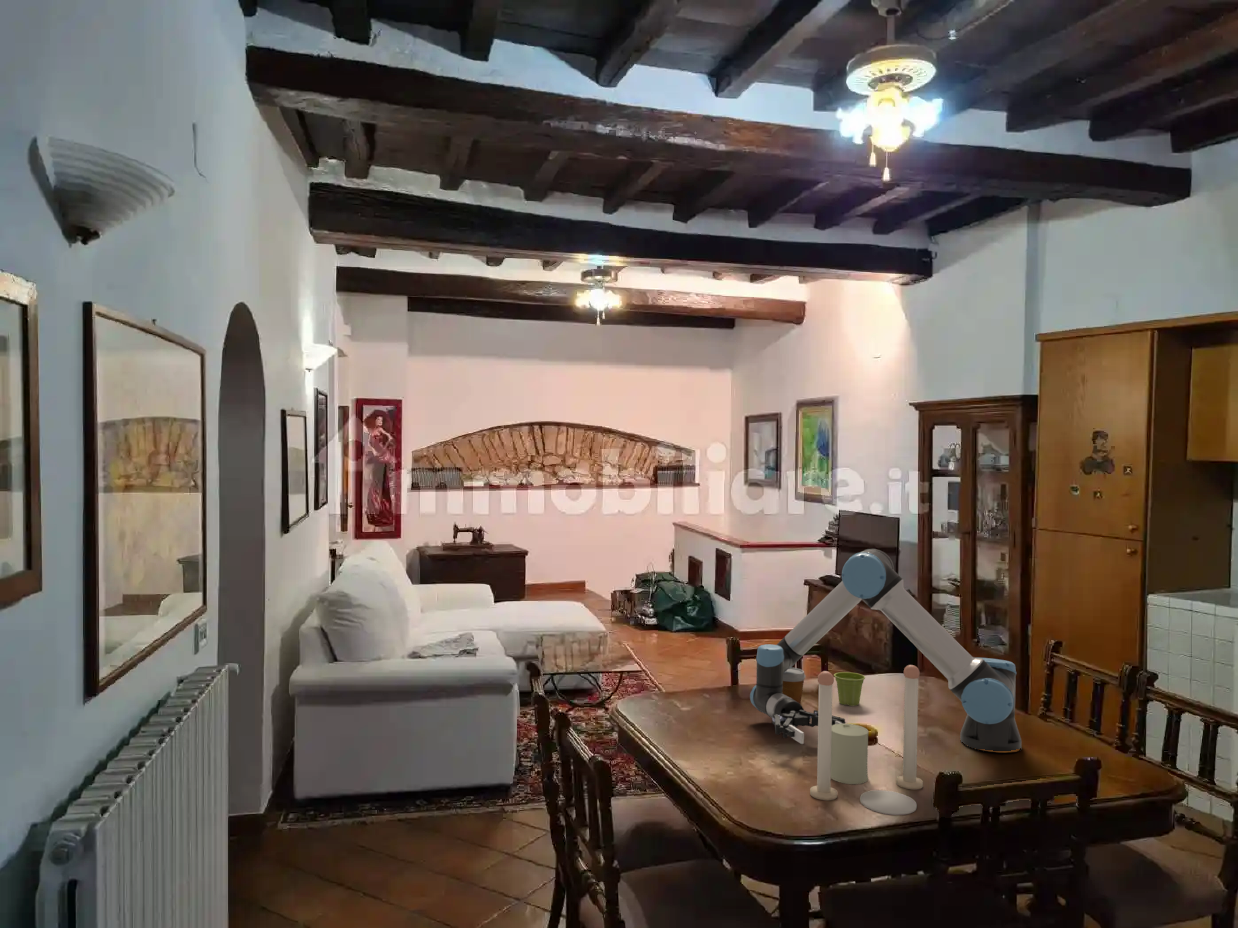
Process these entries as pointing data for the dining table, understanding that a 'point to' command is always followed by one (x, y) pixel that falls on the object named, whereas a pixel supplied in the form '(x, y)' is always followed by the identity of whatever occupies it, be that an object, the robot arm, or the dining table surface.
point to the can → (849, 753)
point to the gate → (825, 734)
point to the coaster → (888, 802)
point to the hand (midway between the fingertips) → (826, 736)
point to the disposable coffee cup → (793, 683)
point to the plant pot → (849, 687)
